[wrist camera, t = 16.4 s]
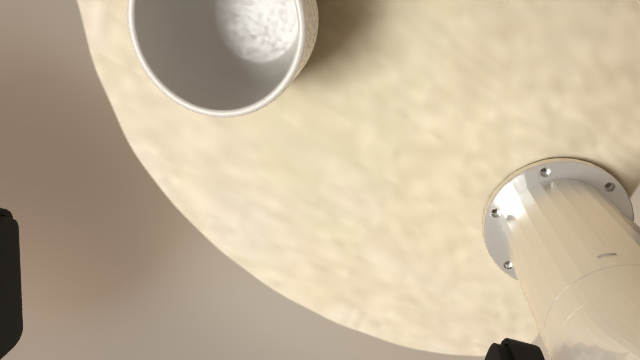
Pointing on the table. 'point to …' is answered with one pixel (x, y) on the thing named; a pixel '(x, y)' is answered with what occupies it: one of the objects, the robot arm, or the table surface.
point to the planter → (223, 50)
